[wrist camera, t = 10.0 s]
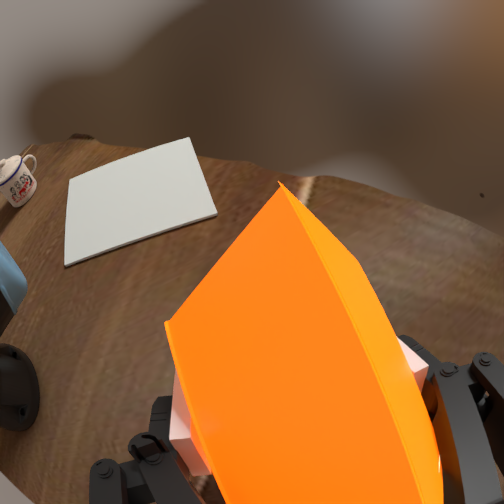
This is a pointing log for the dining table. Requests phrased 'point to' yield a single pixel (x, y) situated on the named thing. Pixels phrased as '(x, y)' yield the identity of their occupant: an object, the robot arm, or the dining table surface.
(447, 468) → the robot arm
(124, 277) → the dining table surface
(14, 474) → the dining table surface
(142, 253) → the dining table surface
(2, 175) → the teacup with lid
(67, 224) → the rubber mat
